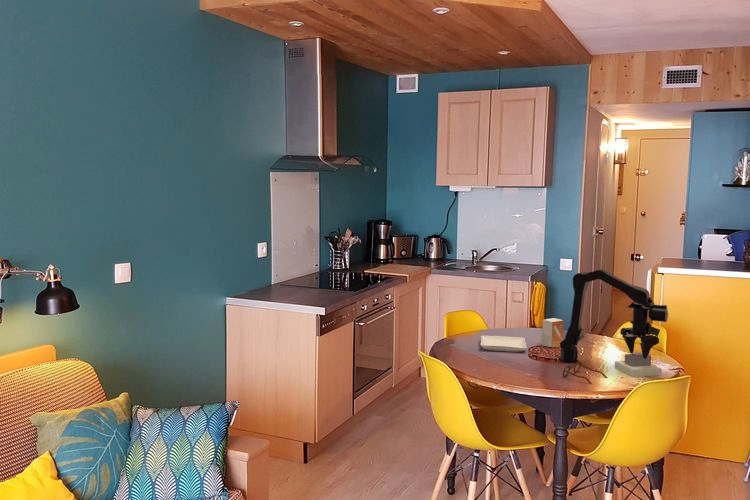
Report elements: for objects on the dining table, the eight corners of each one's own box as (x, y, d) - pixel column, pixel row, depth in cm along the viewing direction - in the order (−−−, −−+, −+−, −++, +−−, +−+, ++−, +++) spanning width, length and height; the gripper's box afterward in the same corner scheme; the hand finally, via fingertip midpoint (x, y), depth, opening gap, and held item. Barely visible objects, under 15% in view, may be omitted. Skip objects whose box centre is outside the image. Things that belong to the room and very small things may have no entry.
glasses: (578, 372, 272) (578, 360, 272) (607, 379, 263) (608, 366, 262) (561, 378, 263) (562, 366, 263) (591, 385, 254) (592, 373, 253)
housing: (650, 365, 271) (651, 354, 270) (632, 366, 268) (632, 355, 268) (642, 362, 276) (643, 351, 275) (624, 363, 273) (625, 352, 273)
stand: (632, 376, 265) (633, 369, 264) (614, 367, 277) (614, 361, 277) (661, 375, 267) (661, 368, 267) (641, 366, 280) (642, 359, 280)
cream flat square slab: (524, 343, 320) (524, 336, 320) (526, 354, 300) (527, 347, 299) (480, 341, 324) (480, 334, 324) (480, 352, 303) (480, 345, 303)
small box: (551, 348, 309) (552, 321, 308) (541, 346, 314) (542, 319, 313) (562, 346, 313) (563, 319, 312) (552, 343, 319) (553, 317, 317)
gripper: (671, 323, 263) (669, 360, 264) (643, 314, 281) (641, 349, 282) (647, 324, 260) (645, 362, 262) (620, 314, 278) (618, 350, 280)
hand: (638, 355), depth 272 cm, fingers open, 9 cm apart
